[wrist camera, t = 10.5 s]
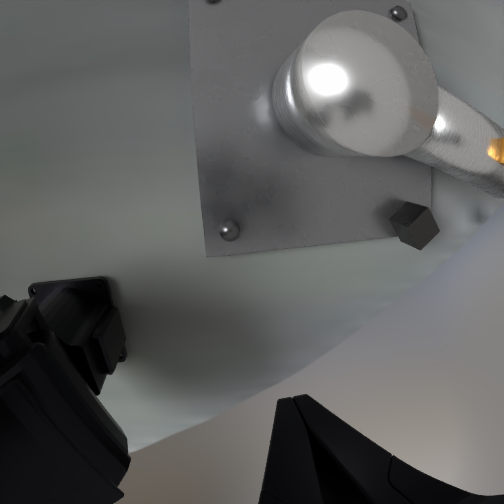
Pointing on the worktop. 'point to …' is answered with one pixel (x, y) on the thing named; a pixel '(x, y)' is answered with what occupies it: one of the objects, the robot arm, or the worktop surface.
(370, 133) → the collar
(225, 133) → the flange
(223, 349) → the worktop surface
